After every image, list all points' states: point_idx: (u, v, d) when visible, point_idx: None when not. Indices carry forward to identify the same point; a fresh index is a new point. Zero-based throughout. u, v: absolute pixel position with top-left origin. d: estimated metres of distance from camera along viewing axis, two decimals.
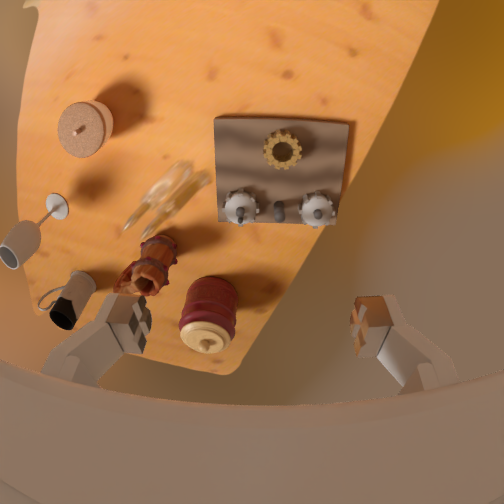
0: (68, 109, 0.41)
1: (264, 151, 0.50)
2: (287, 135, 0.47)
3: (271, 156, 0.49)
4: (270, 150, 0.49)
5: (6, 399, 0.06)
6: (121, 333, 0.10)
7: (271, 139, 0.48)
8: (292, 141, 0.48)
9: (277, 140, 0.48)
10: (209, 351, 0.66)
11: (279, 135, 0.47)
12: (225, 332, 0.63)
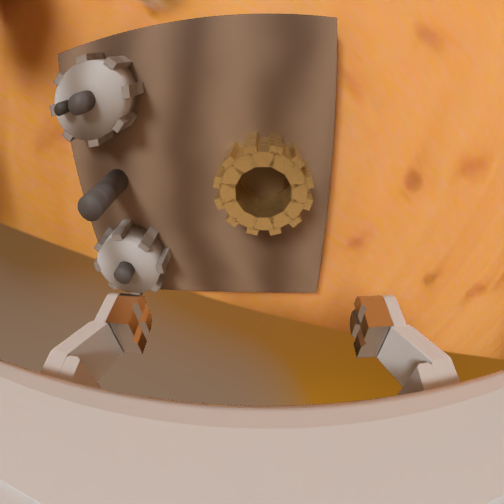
0: None
1: (257, 142, 0.18)
2: (309, 203, 0.19)
3: (249, 166, 0.18)
4: (266, 163, 0.18)
5: (6, 399, 0.06)
6: (121, 333, 0.10)
7: (298, 165, 0.18)
8: (292, 214, 0.20)
9: (295, 179, 0.18)
10: None
11: (309, 184, 0.19)
12: None
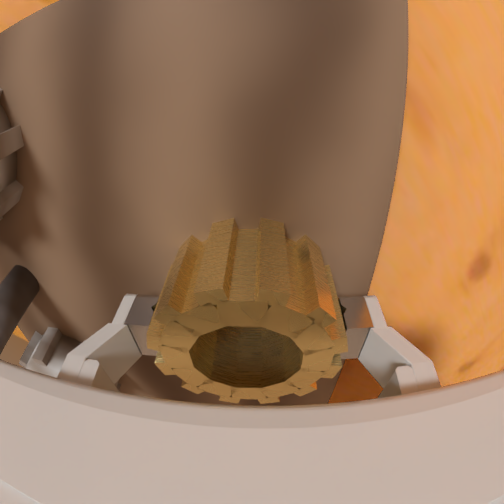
0: None
1: (230, 261, 0.09)
2: (334, 370, 0.10)
3: (212, 325, 0.08)
4: (250, 320, 0.08)
5: (6, 399, 0.06)
6: (140, 335, 0.10)
7: (322, 321, 0.08)
8: (301, 383, 0.10)
9: (313, 344, 0.09)
10: None
11: (339, 347, 0.09)
12: None
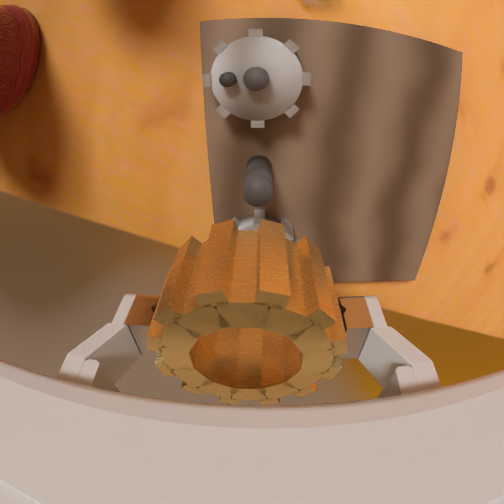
0: None
1: (230, 262, 0.09)
2: (334, 371, 0.10)
3: (212, 326, 0.08)
4: (250, 321, 0.08)
5: (6, 399, 0.06)
6: (140, 335, 0.10)
7: (321, 323, 0.08)
8: (301, 384, 0.10)
9: (313, 345, 0.09)
10: None
11: (339, 349, 0.09)
12: None
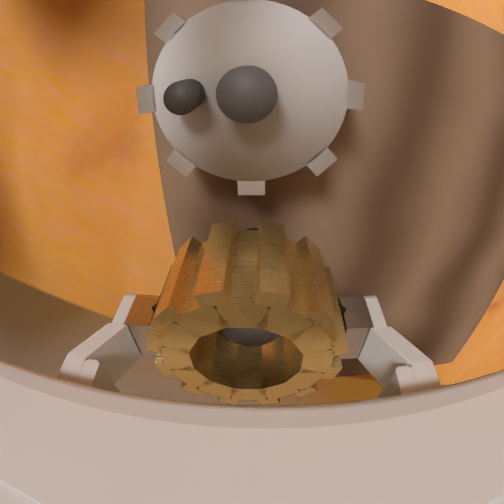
0: None
1: (230, 262, 0.09)
2: (333, 371, 0.10)
3: (212, 326, 0.08)
4: (250, 322, 0.08)
5: (6, 399, 0.06)
6: (140, 335, 0.10)
7: (321, 323, 0.08)
8: (301, 384, 0.10)
9: (312, 345, 0.09)
10: None
11: (339, 349, 0.09)
12: None
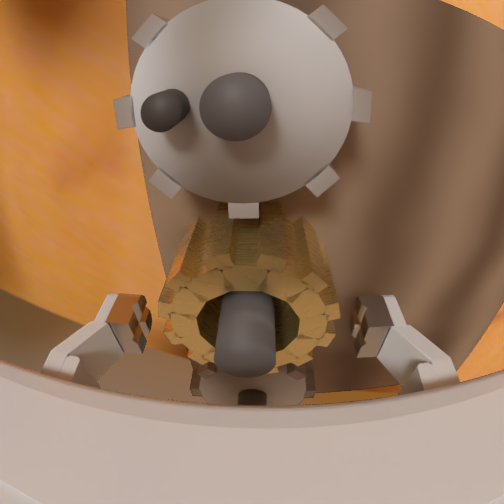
0: None
1: (234, 234, 0.10)
2: (328, 338, 0.11)
3: (218, 289, 0.09)
4: (252, 284, 0.09)
5: (6, 399, 0.06)
6: (121, 333, 0.10)
7: (315, 286, 0.09)
8: (298, 351, 0.11)
9: (308, 309, 0.10)
10: None
11: (332, 314, 0.10)
12: None
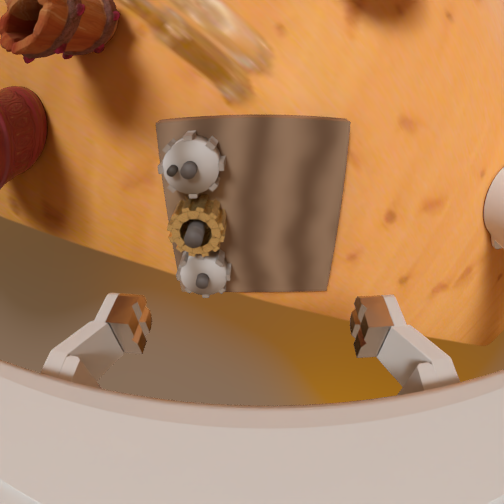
0: None
1: (191, 203, 0.33)
2: (222, 238, 0.34)
3: (186, 218, 0.32)
4: (195, 217, 0.32)
5: (6, 399, 0.06)
6: (121, 333, 0.10)
7: (213, 217, 0.32)
8: (213, 244, 0.34)
9: (212, 225, 0.33)
10: None
11: (221, 227, 0.33)
12: None
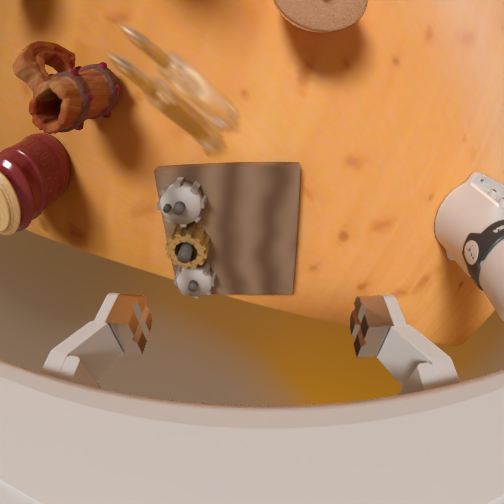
0: None
1: (182, 230, 0.45)
2: (205, 255, 0.46)
3: (178, 242, 0.44)
4: (185, 240, 0.44)
5: (6, 399, 0.06)
6: (121, 333, 0.10)
7: (198, 241, 0.44)
8: (199, 260, 0.46)
9: (198, 247, 0.45)
10: None
11: (204, 248, 0.45)
12: (15, 229, 0.33)
